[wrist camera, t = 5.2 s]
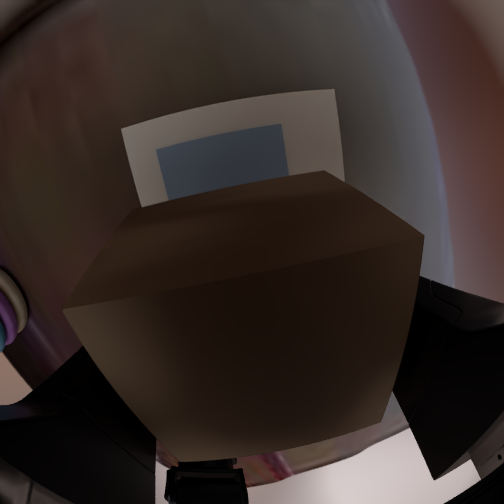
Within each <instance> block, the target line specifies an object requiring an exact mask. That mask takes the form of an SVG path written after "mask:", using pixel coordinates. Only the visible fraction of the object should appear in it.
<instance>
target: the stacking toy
mask: <svg viewBox="0 0 504 504" xmlns="http://www.w3.org/2000/svg"><path fill="white" fill-rule="evenodd" d="M27 317H28V313H27V307H26V303H25V300H24V298H23V296H22V293H21V292H20V290H19V288H18V287H17V285H16V284H15V282H14V281H13V280H12V279H11V278H10V277H9V276H8V275H7V274H6V273H5V272H4V271H2V270H1V269H0V352H1V351H2V350H3V349H4V346H5V345H8V344H10V343H12V342H13V341H14V339H15V338H16V336H17V333H19V332H20V331H22V329H23V328H24V327H25V325H26V322H27Z"/></svg>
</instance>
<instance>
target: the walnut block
mask: <svg viewBox="0 0 504 504" xmlns="http://www.w3.org/2000/svg"><path fill="white" fill-rule="evenodd" d="M423 245H424V235H423V234H422V233H420V232H419V231H418V230H416V229H415V228H413V227H412V226H411V225H409V224H408V223H406V222H405V221H404V220H402V219H401V218H399V217H398V216H396V215H395V214H393V213H392V212H391V211H389V210H388V209H386V208H385V207H383V206H382V205H380V204H379V203H377V202H375V201H374V200H372V199H371V198H369V197H368V196H366V195H365V194H363V193H361V192H360V191H358V190H357V189H355V188H353V187H352V186H350V185H349V184H347V183H345V182H344V181H342V180H340V179H339V178H337V177H335V176H334V175H332V174H330V173H328V172H327V171H325V170H322V171H315V172H309V173H303V174H296V175H290V176H284V177H279V178H273V179H267V180H262V181H257V182H251V183H246V184H241V185H236V186H231V187H226V188H221V189H217V190H212V191H208V192H203V193H198V194H194V195H190V196H185V197H181V198H177V199H173V200H169V201H164V202H160V203H156V204H153V205H149V206H145V207H141V208H137V209H133V210H132V211H131V212H130V213H129V214H128V216H127V217H126V218H125V219H124V221H123V222H122V223H121V225H120V226H119V227H118V228H117V230H116V231H115V232H114V234H113V235H112V236H111V238H110V239H109V240H108V242H107V243H106V244H105V246H104V247H103V248H102V250H101V251H100V252H99V254H98V255H97V257H96V258H95V259H94V261H93V262H92V264H91V265H90V266H89V268H88V269H87V271H86V272H85V274H84V275H83V277H82V278H81V280H80V281H79V283H78V284H77V286H76V287H75V289H74V290H73V292H72V293H71V295H70V296H69V298H68V300H67V301H66V303H65V304H64V306H63V308H62V311H63V313H64V315H65V316H66V318H67V320H68V322H69V323H70V325H71V327H72V328H73V330H74V332H75V333H76V335H77V336H78V338H79V340H80V341H81V343H82V344H83V346H84V347H85V349H86V350H87V352H88V353H89V355H90V356H91V358H92V359H93V361H94V362H95V364H96V365H97V366H98V368H99V369H100V371H101V372H102V373H103V375H104V376H105V377H106V379H107V380H108V381H109V383H110V384H111V385H112V387H113V388H114V389H115V391H116V392H117V393H118V394H119V396H120V397H121V398H122V399H123V401H124V402H125V403H126V404H127V406H128V407H129V408H130V409H131V410H132V412H133V413H134V414H135V415H136V416H137V417H138V419H139V420H140V421H141V422H142V423H143V424H144V425H145V426H146V427H147V429H148V430H149V431H150V432H151V433H152V434H153V435H154V436H155V437H156V438H157V439H158V440H159V441H160V442H161V443H162V444H163V445H164V446H165V448H166V449H167V450H168V451H169V452H171V453H172V454H173V455H174V456H175V457H176V458H177V459H178V460H179V461H180V462H192V461H208V460H219V459H229V458H237V457H245V456H252V455H258V454H264V453H270V452H276V451H281V450H286V449H290V448H295V447H299V446H304V445H308V444H312V443H316V442H320V441H323V440H327V439H331V438H334V437H338V436H341V435H344V434H347V433H350V432H354V431H357V430H360V429H363V428H365V427H368V426H371V425H374V424H377V423H379V422H381V420H382V418H383V415H384V412H385V410H386V407H387V404H388V401H389V398H390V395H391V392H392V389H393V386H394V383H395V380H396V377H397V373H398V370H399V366H400V363H401V359H402V356H403V352H404V348H405V344H406V340H407V336H408V332H409V328H410V323H411V319H412V314H413V309H414V304H415V299H416V293H417V288H418V282H419V275H420V268H421V261H422V253H423Z"/></svg>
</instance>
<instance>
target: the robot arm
mask: <svg viewBox="0 0 504 504" xmlns="http://www.w3.org/2000/svg"><path fill="white" fill-rule="evenodd" d="M392 391H393V393H394V395H395V397H396V399H397V401H398V403H399V405H400V407H401V409H402V411H403V413H404V415H405V418H406V420H407V422H408V423H409V426H410V428H411V431H412V433H413V435H414V437H415V439H416V441H417V444H418V446H419V448H420V450H421V453H422V455H423V457H424V459H425V461H426V464H427V466H428V468H429V471H430V473H431V476H432V478H433V480H436V479H438V478H440V477H442V476H444V475H445V474H447V473H449V472H450V471H452V470H454V469H456V468H457V467H459V466H460V465H462V464H463V463H465V462H467V461H468V460H470V459H471V460H472V462H473V464H474V466H475V468H476V470H477V472H478V474H479V476H480V478H481V480H480V481H479V482H477V483H476V484H474V485H473V486H471V487H470V488H468V489H467V490H465V491H464V492H462V493H461V494H459V495H457V496H456V497H454V498H453V499H451V500H449V501H448V502H446V503H444V504H504V303H500V302H497V301H493V300H490V299H487V298H483V297H480V296H477V295H474V294H470V293H467V292H464V291H461V290H458V289H454V288H452V287H449V286H446V285H443V284H440V283H438V282H435V281H433V280H432V281H430V279H427V278H424V277H422V276H419V282H418V288H417V293H416V299H415V304H414V309H413V314H412V319H411V323H410V328H409V332H408V336H407V340H406V344H405V348H404V352H403V356H402V359H401V363H400V366H399V370H398V373H397V377H396V380H395V383H394V386H393V389H392ZM156 439H157V438H156V437H155V436H154V435H153V434H152V433H151V432H150V431H149V430H148V429H147V427H146V426H145V425H144V424H143V423H142V422H141V421H140V420H139V419H138V417H137V416H136V415H135V414H134V413H133V412H132V410H131V409H130V408H129V407H128V406H127V404H126V403H125V402H124V401H123V399H122V398H121V397H120V396H119V394H118V393H117V392H116V391H115V389H114V388H113V387H112V385H111V384H110V383H109V381H108V380H107V379H106V377H105V376H104V375H103V373H102V372H101V371H100V369H99V368H98V366H97V365H96V364H95V362H94V361H93V359H92V358H91V356H90V355H89V353H88V352H87V350H86V349H85V347H84V346H82V347H81V348H80V349H79V350H78V352H76V353H75V354H74V355H73V356H72V357H71V358H69V359H68V360H67V361H66V362H65V363H64V364H63V365H62V366H61V367H60V368H59V369H57V370H56V371H55V372H54V373H53V374H52V375H50V376H49V377H48V378H47V379H46V380H45V381H43V382H42V383H41V384H40V385H39V386H37V387H36V388H35V389H34V390H33V391H32V392H30V393H29V394H28V395H27V396H26V397H25V398H23V399H22V400H20V401H18V402H16V403H14V404H10V405H0V504H155V464H156ZM235 464H237V458H229V459H219V460H208V461H192V462H180V461H179V460H178V467H176V466H171V469H169V470H167V478H166V487H165V494H164V498H165V500H167V501H168V502H169V504H249V501H248V493H247V488H246V483H245V478H244V474H243V469H242V468H238V469H233V465H235Z"/></svg>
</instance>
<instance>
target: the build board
mask: <svg viewBox="0 0 504 504" xmlns="http://www.w3.org/2000/svg"><path fill="white" fill-rule="evenodd" d="M121 130H122V135H123V139H124V143H125V147H126V151H127V155H128V159H129V163H130V167H131V171H132V175H133V178H134V182H135V186H136V189H137V193H138V196H139V200H140V203H141V206H142V207H145V206H149V205H153V204H156V203H160V202H164V201H169V200H173V199H177V198H181V197H185V196H190V195H194V194H198V193H203V192H208V191H212V190H217V189H221V188H226V187H231V186H236V185H241V184H246V183H251V182H257V181H262V180H267V179H273V178H279V177H284V176H290V175H296V174H303V173H309V172H315V171H322V170H325V171H327V172H328V173H330V174H332V175H334V176H335V177H337V178H339V179H340V180H342V181H344V182H345V176H344V165H343V154H342V144H341V135H340V127H339V119H338V112H337V105H336V98H335V91H334V89H325V90H310V91H299V92H289V93H280V94H272V95H264V96H257V97H250V98H244V99H238V100H233V101H227V102H222V103H217V104H212V105H207V106H203V107H198V108H194V109H189V110H185V111H181V112H177V113H173V114H169V115H166V116H162V117H158V118H155V119H151V120H148V121H145V122H141V123H138V124H135V125H132V126H129V127H126V128H123V129H121Z"/></svg>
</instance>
